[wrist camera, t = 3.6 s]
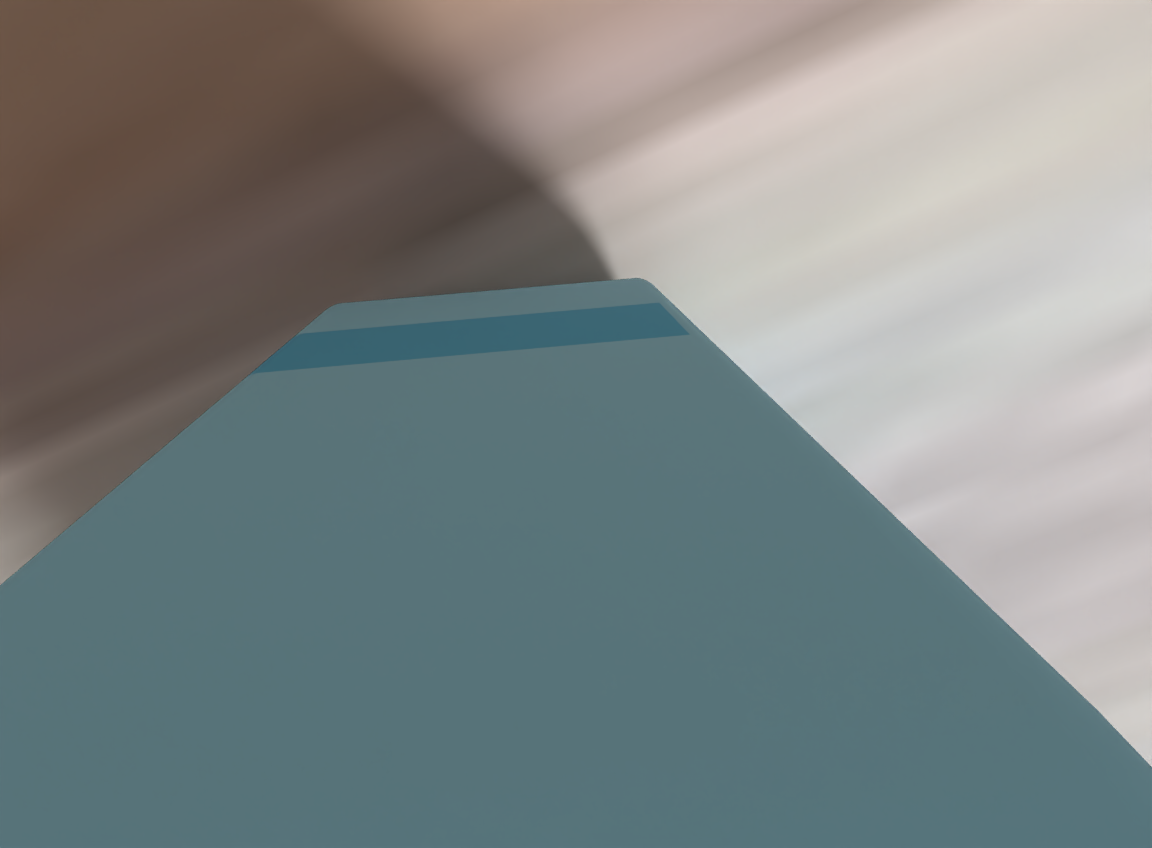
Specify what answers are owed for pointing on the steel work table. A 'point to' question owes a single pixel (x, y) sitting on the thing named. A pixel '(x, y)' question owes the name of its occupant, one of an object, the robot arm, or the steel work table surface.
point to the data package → (525, 618)
